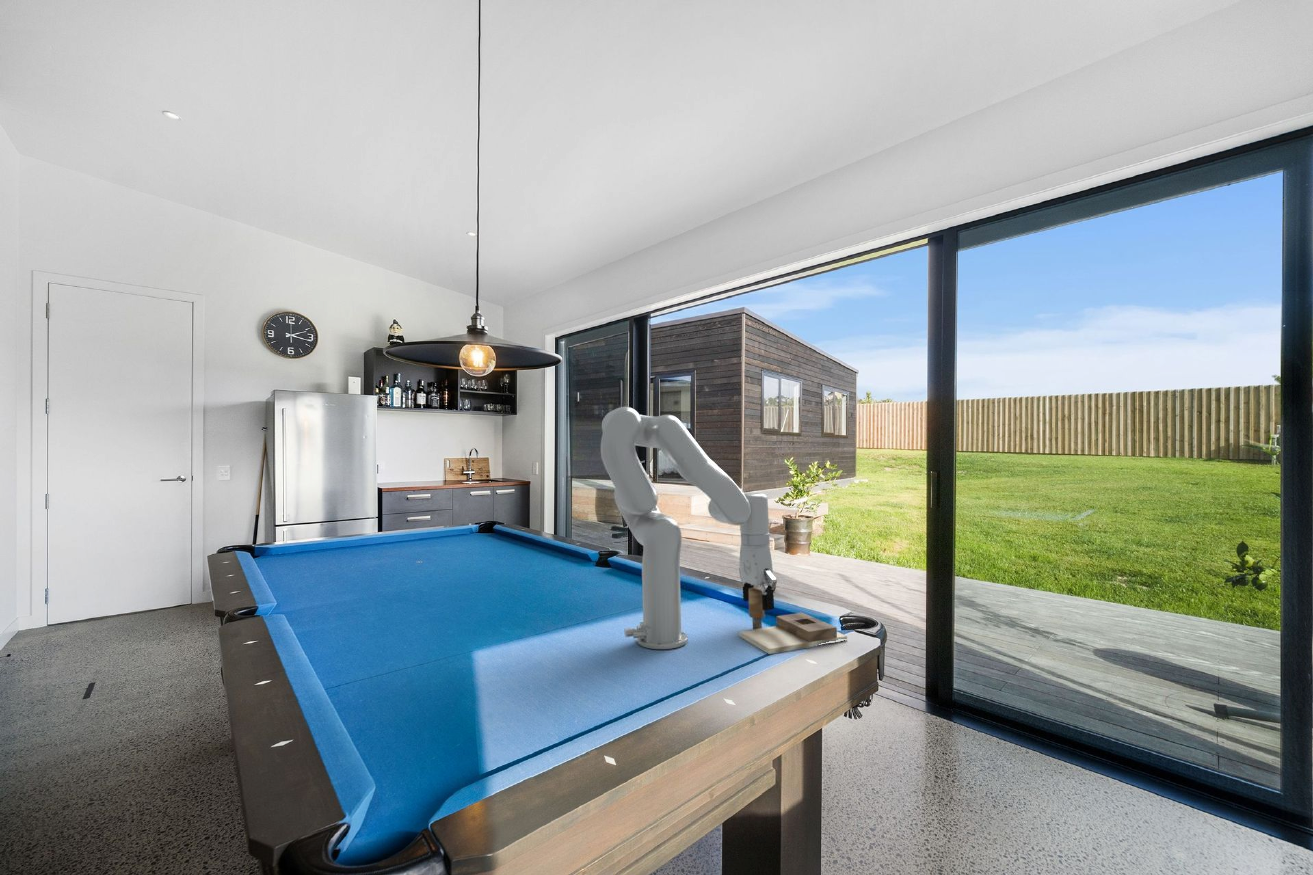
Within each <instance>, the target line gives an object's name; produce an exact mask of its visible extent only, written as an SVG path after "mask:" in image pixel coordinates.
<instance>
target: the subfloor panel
mask: <svg viewBox="0 0 1313 875" xmlns="http://www.w3.org/2000/svg"><path fill="white" fill-rule="evenodd" d="M775 622H776V623H775V624H776V625H774V626H767V627H762V628H760V629H753V628H752V629H746V630H740V631H739V635H738V636H739V637H740V638H742V639H743V640H745V641H747V642H748V643H750V644H751V645H753V646H755V647H757V648H758V649H760V650H761V651H763V652H765V653H767V654H768V655H772V654H773V655H774V654H779V653H784V652H785V653H786V652H791V651H796V650H802V649H807V648H809V649H810V648H815V647H817V646H816V645H819V644H821V643H826V642H829V641H836V640H838V639H847V640H848V636H847V635H845V634H844V633H841V632H839V631H838V628H837V626H835V625H832V624H829V623H828V622H825V621H823V620H820V619H818V618H815V617H813V616H811V615H808V614H806V613H803V612H798V613H797V612H796V613H791V614H782V615H776V620H775ZM814 646H815V647H814Z"/></svg>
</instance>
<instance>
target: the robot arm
mask: <svg viewBox="0 0 1313 875" xmlns="http://www.w3.org/2000/svg"><path fill="white" fill-rule="evenodd" d="M601 431H602V434H601V435H602V436H601V441H600V456H601V460H602V463H603V466H604V469H605V471H606V472H607V474H608V475H609V478H610V480H611V482H612V485H614V488H615V489H614V491H613V492H614V493H613V498H614V502H615V505H616V507H617V509H618V511H619V513H620V514H621V516H622V517H623V519H624V522H625V524H626V525H627V526H628V528H629V530H630V532H631V534H632V535H633V537H634V538H635V540H636V541H637V542H638V543H639V544H640V545H642V546H643V547H642V548H643V552H642V562H641V580H642V582H641V583H642V622H639V625H637V626H636V628H635V627H633V628H632V627H631V628H625V629H624V636H625V638H629V637H632V638H633V639H637V641H636V642H637V643H638V645H639V646H641V647H643V648H646V649H650V650H671V649H675V648H680V647H682V646H684V645H686V644H687V642H688V640H689V639H688V638H689V637H688V634H686V633H685V632H683V631H682V615H681V614H682V609H681V608H682V605H681V604H682V603H681V598H682V597H681V576H680V575H681V569H680V568H681V567H680V566H681V565H680V563H681V562H680V561H681V549H682V539H683V538H682V530H681V528H680V525H679V524H678V523H677V520H675V519H674V518H673V517H671V516H669V515H666V514H664V513H661V511H660V509H659V507H658V506H657V505H658V501H659V496H658V491H657V489H656V487H655V485H654V484H653V482H652V480H651V478H650V476H649V475H648V474H647V472H646V470H645V468H644V466H643V465H642V462H641V460H640V459H639V456H638V453H637V450H636V446H638V447H645V448H654V449H660V451H661V452H662V453H663V454H664V456H665V457H666V458H667V460H668V461H669V462H670V464H671V465H672V467H674V469H675V470H676V471H677V472H678V474H679V475H680V476H681V477H682V479H684V480H685V481H687V482H688V483H689V484H690V485H692V486H694V487H696V488H698V489H699V490H700V491H702V493H704V494H705V495H706V496H707V497H708V498H709V500H710V501H709V503H708V506H707V509H708V514H709V515H710V516H711V518H713V519H714V520H715V521H717V522H719V523H723V524H728V525H730V526H731V525H732V526H740V527H739V529H740V548H739V550H740V551H739V567H738V571H739V572H738V573H739V579H740V580H741V586H742V601H743V602H746V603H747V602H749V590H748V589H749V588H754V587H759V588H761V590H762V592H763V594H762V609H763V610H764V611H772V610H774V609H775V600H774V599H775V598H774V597H775V596H774V594H775V592H776V588H777V582H778V579H777V578H776V576H774V573H773V572H774V570H773V559H772V552H771V548H770V546H771V541H770V524H769V523H770V521H769V520H770V519H769V502H768V496H767V495H766V494H765V493H762V492H748V493H743V491H742V490H741V489H740V487H739V486H738V485H737V484H736V483H735V481H734V480H733V479H732V478H731V477H730V476H729V475H728V474H727V472H725V471H724V470H723V469H722V468H721V467H719V466H718V464H716V463H715V461H713V460H712V459H711V458H710V457H709V456H708V455H707V453H706V452H705V451H704V450H703V448H702V447H701V446H700V445H699V443H698V442H697V441H696V440H695V438H694V437H693V436H692V434H691V433H690V432H689V430H688V429H687V428H686V426H685V425H684V424H683V423H682V421H681V420H680V419H679V418H678V417H676V415H672V414H663V415H658V416H653V415H645V414H644V415H643V414H640V413H639V412H638V411H637V410H636V409H634V408H632V407H630V406H621V407H618V408H615V409H613V410H611V411H609V412H607V413H606V414H605V416H604V417H603V419H602V421H601Z"/></svg>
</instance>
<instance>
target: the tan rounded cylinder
mask: <svg viewBox="0 0 1313 875" xmlns="http://www.w3.org/2000/svg"><path fill="white" fill-rule="evenodd" d="M748 590H749V601H748V617H750V618H752V630H753V629H760V628H763V623H762V621H763V619H762V618H765V616H766V614H765V611H764V610H763V609H762V594H763V592H762V590H761V587H759V586H754V588H749V589H748Z"/></svg>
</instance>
